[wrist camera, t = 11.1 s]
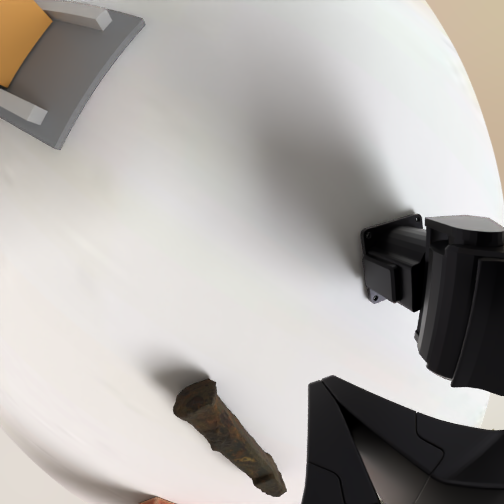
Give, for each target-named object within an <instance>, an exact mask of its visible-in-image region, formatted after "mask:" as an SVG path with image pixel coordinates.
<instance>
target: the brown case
mask: <svg viewBox="0 0 504 504" xmlns="http://www.w3.org/2000/svg"><path fill="white" fill-rule="evenodd" d="M139 504H174V503H172V502H169V501H166V500H164V499H161V498H159V497H154V498H152V499H149V500H147V501H144V502H141V503H139Z"/></svg>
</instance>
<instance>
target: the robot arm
mask: <svg viewBox="0 0 504 504" xmlns="http://www.w3.org/2000/svg"><path fill="white" fill-rule="evenodd" d="M416 218H417V221H416ZM425 226H426V230H425V229H423V225H422V217H421V215H419V214H412V215H409V216H405V217H402V218H399V219H395V220H392V221H389V222H385V223H382V224H379V225H375V226H372V227H368V228H365V229H363V230H362V232H361V240H362V247H363V254H364V256H363V266H364V274H365V282H366V286H367V287H368V296H369V301H370V302H372V303H374V304H375V303H378V302H381V301H383V300H385V299H388V300H389V301H391V302H393V303H397V302H398V303H399V304H401V305H403V306H404V307H406V308H408V309H409V310H411V311H412V312H416V311H418V310H420V313H419V320H418V326H417V330H416V331H415V336H414V338H415V340H416V341H417V343H418V344H417V347H418V351H419V354H420V355H421V356H422V358H423V359H424V360H425V361H426V362H427V365H426V367H427V368H428V369H429V370H430V371H431V372H433V373H434V374H436V375H438V376H440V377H442V378H444V379H447V380H452V382H451V387H471V388H479V389H482V390H486V391H489V392H491V393H494V394H497V395H500V396H504V227H502V226H501V225H499V224H498V223H496V222H495V221H493V220H492V219H490V218H487V217H478V216H470V215H456V216H440V217H426V218H425ZM367 233H369V236H368V237H367V238H366V234H367ZM374 296H376V297H375V299H373V298H374ZM376 492H377V493H378V495H379V496H380V498H381V499H382V501H383V502H384V504H504V430H486V429H480V428H474V427H469V426H464V425H459V424H454V423H450V422H446V421H442V420H439V419H436V418H433V417H430V416H427V415H424V414H422V413H419V412H417V413H416V411H414V410H411V409H409V408H406V407H404V406H401V405H399V404H397V403H394V402H392V401H389V400H387V399H385V398H382V397H380V396H378V395H376V394H373V393H371V392H369V391H366V390H364V389H362V388H360V387H358V386H355V385H353V384H351V383H349V382H347V381H345V380H343V379H340V378H338V377H336V376H334V375H331V376H328V377H326V378H323V379H322V380H321V381H320V380H318V381H315V382H312V383H310V384H309V385H308V440H307V464H306V479H305V488H304V493H303V498H302V502H301V504H381V502H380V500H379V497H378V495H377V493H376Z"/></svg>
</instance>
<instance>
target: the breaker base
mask: <svg viewBox="0 0 504 504" xmlns="http://www.w3.org/2000/svg"><path fill="white" fill-rule="evenodd" d="M34 1H35V2H36V3H37V4H38V6H39V7H40V8H41V9H42V10H43V11H44V12H45V13H46V14H47V15H48V16H49V17H50V19H51V20H52V21H53V22H52V23H51V24H50V25H49V27H48V28H47V29H46V31H45V32H44V33H43V34H42V36H41V37H40V38H39V40H38V41H37V42H36V44H35V45H34V47H33V48H32V49H31V51H30V52H29V54H28V55H27V57H26V58H25V60H24V61H23V63H22V64H21V66H20V67H19V69H18V71H17V72H16V74H15V76H14V77H13V79H12V81H11V82H10V84H9V86H8V88H6V87H4V86H2V85H0V118H2V119H4V120H6V121H7V122H9V123H11V124H13V125H14V126H16V127H18V128H19V129H21V130H23V131H25V132H26V133H28V134H30V135H32V136H33V137H35V138H37V139H39V140H40V141H42V142H44V143H45V144H47V145H49V146H51V147H52V148H54V149H58V150H60V149H61V147H62V145H63V143H64V141H65V139H66V138H67V136H68V134H69V132H70V130H71V128H72V126H73V125H74V123H75V121H76V119H77V118H78V116H79V114H80V112H81V111H82V109H83V107H84V106H85V104H86V103H87V101H88V99H89V98H90V96H91V95H92V93H93V92H94V90H95V88H96V87H97V86H98V84H99V83H100V81H101V80H102V78H103V77H104V75H105V74H106V73H107V71H108V70H109V68H110V67H111V66H112V64H113V63H114V62H115V60H116V59H117V58H118V57H119V55H120V54H121V53H122V51H123V50H124V49H125V48H126V47H127V45H128V44H129V43H130V42H131V41H132V39H133V38H134V37H135V36H136V35H137V34H138V32H139V31H140V30H141V29H142V28H143V27H144V26H145V22H144V20H143V18H140V17H136V16H133V15H129V14H125V13H122V12H118V11H113V10H109V9H106V8H103V7H98V6H93V5H87V4H82V3H75V2H69V1H61V0H34Z"/></svg>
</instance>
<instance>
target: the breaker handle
mask: <svg viewBox="0 0 504 504" xmlns="http://www.w3.org/2000/svg"><path fill="white" fill-rule="evenodd" d="M52 22H53V21H52V20H51V19H50V17H49V16H48V15H47V14H46V13H45V12H44V11H43V10H42V9H41V8H40V7H39V6H38V4H37V3H36V2H35V1H34V0H0V85H2V86H4V87H6V88H8V86H9V84H10V82H11V81H12V79H13V77H14V76H15V74H16V72H17V71H18V69H19V67H20V66H21V64H22V63H23V61H24V60H25V58H26V57H27V55H28V54H29V52H30V51H31V49H32V48H33V47H34V45H35V44H36V42H37V41H38V40H39V38H40V37H41V36H42V34H43V33H44V32H45V31H46V29H47V28H48V27H49V25H50V24H51V23H52Z"/></svg>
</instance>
